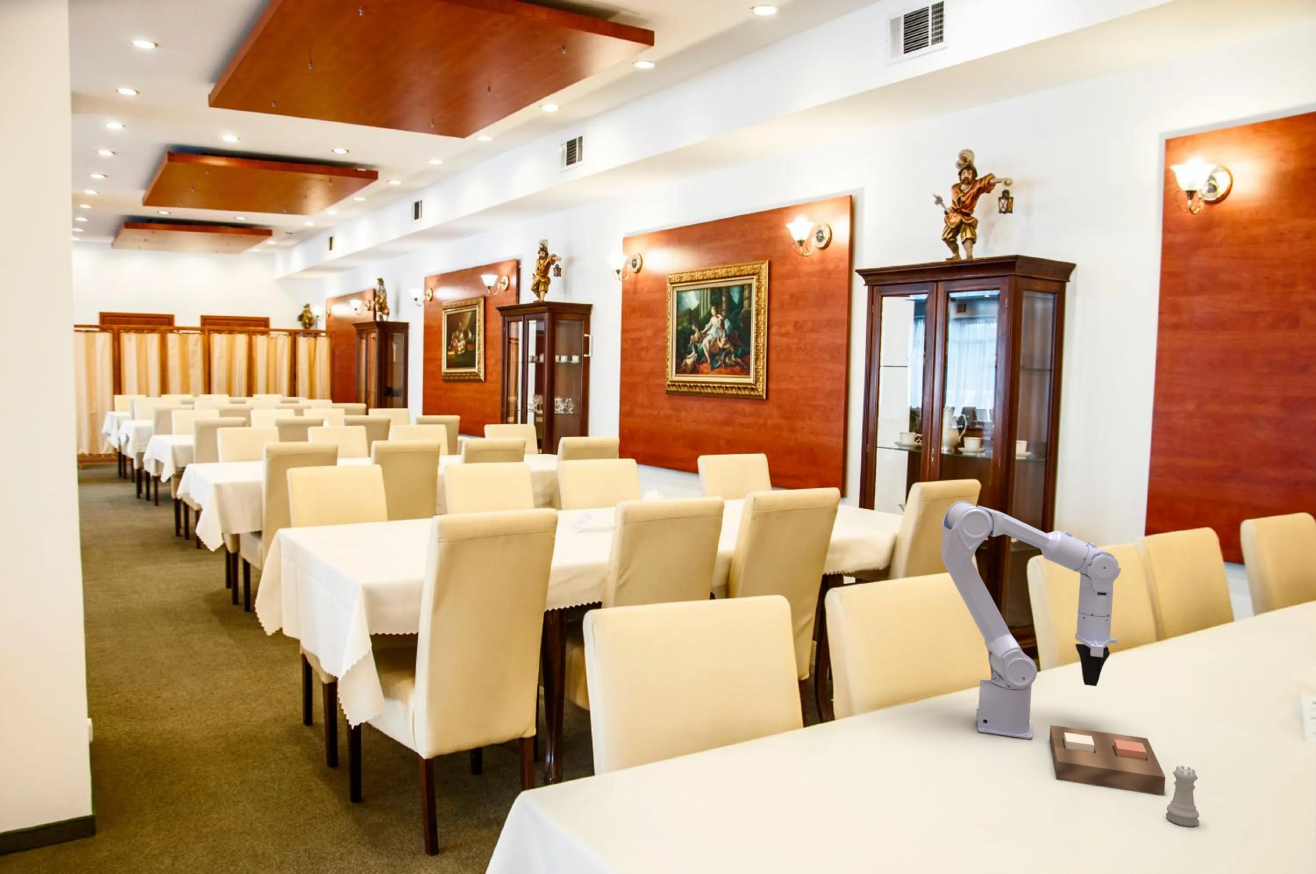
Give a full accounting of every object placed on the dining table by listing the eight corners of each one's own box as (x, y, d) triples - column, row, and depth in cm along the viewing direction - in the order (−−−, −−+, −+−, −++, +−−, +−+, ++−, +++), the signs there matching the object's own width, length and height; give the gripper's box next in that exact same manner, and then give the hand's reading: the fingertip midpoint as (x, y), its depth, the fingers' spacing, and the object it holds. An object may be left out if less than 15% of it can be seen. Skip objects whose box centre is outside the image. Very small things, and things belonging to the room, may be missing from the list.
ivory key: (1065, 761, 165) (1066, 741, 164) (1063, 751, 169) (1064, 732, 168) (1093, 765, 163) (1094, 745, 163) (1090, 755, 167) (1091, 736, 167)
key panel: (1056, 779, 159) (1057, 761, 159) (1049, 741, 176) (1050, 724, 176) (1164, 795, 154) (1165, 777, 153) (1146, 754, 171) (1147, 738, 170)
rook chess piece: (1195, 817, 146) (1199, 766, 146) (1201, 830, 142) (1205, 777, 141) (1163, 812, 148) (1166, 761, 147) (1168, 824, 143) (1171, 772, 143)
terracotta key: (1116, 768, 162) (1117, 748, 162) (1113, 759, 166) (1114, 739, 166) (1145, 772, 161) (1146, 752, 160) (1141, 763, 165) (1142, 743, 165)
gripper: (1123, 624, 171) (1118, 699, 171) (1113, 606, 184) (1108, 676, 185) (1080, 620, 173) (1075, 694, 174) (1073, 602, 187) (1069, 671, 187)
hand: (1090, 684), depth 180 cm, fingers closed
